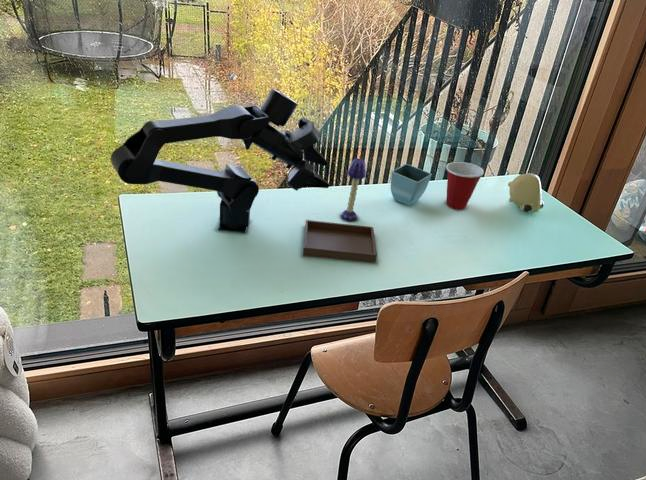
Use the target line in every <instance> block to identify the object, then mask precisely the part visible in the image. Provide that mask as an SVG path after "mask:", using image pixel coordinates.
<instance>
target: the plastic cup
mask: <svg viewBox="0 0 646 480" xmlns="http://www.w3.org/2000/svg"><path fill="white" fill-rule="evenodd" d="M445 169H446V173H447V182H446V183H447V184H446V198H445V200H446V203H445V204H446V206H448V207H449V208H451V209H453V210H459V211H460V210H461V211H462V210H465V208H466V207H467V206H468V203H469V201H470V199H471V198H472V196H473V193H474V191H475V189H476V187H477V185H478V183H479V181H480V180H481V177H482V176H483V175H484V173H485V171H484V169H483V168H482V167H481V166H479V165H476V164H475V163H470V162H463V161H452V162H449V163H447V164H446V165H445Z"/></svg>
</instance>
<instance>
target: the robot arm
mask: <svg viewBox="0 0 646 480" xmlns="http://www.w3.org/2000/svg"><path fill="white" fill-rule="evenodd" d="M298 106H299V104H298V102H296V101H295V100H293V99H292V98H290V97H289V96H287V95H286V94H284V93H283V92H281V91H278V90H276V89H275V88H271V89H270V91H269V93H268V95H267V97H266V99H265V101H264V102H263V104H262V105H261V107H259V106H258V105H257V104H252V105H245V106H242V105H239V104H232V105H230V106H226V107H223V108H220V109H219V110H217V111H215V112H214V113H211V114H207V115H198V116H190V117H182V118H173V119H164V120H148V121H146V122H145V123H144V124H143V125H142V127H141V128H140V129H139V130H138V131H136V132H135V133H133V134H132V135H130V136H129V137H128V138H126V140H125V141H124V142H123V143H122V145H120V146H118V147H117V148H115V149H114V151H112V152H111V155H110V162H111V165H112V167H113V168H114V171H115V172H116V174H117V175H118V178H119V179H120V180H121V181H122V182H123V183H125V184H127V185H150V184H154V183H156V182H157V183H158V182H161V183H168V184H173V185H179V186H186V187H190V188H196V189H203V190H208V191H213V192H216V194H217V197H219V198H220V199H221V200H220V203H219V223H218V226H217V227H218V231H223V232H224V231H225V232H232V233H244V234H245V233H246V232H247V228H248V227H250V220H251V209H252V206H253V204H254V201H255V199H256V197H257V196H258V194H259V191H260V186H259V185H258V183H257V181H255V179H254V178H253V177H252V176H251V175H250V174H249V172H247V171H246V170H245V169H244V168H243V167H242V166H241V165H238V166H237V165H236V166H234V165H231V164H230V163H225V168H224V169H221V170H215V169H209V168H204V167H199V166H194V165H189V164H185V163H184V164H183V163H179V162H173V161H169V160H163V159H160V158H158V155H159V153H160V151H161V149H162V148H163V147H164V145H166V144H173V143H180V142H181V143H182V142H188V141H194V140H203V139H209V138H225V139H229V140H241V141H242V144H243V147H244V149H245V150H246V151H249V149H250V148H251V146H252V144H253V145H255V146H256V147H258V148H260V149H262V150H263V151H264V152H267V153H268V154H270V159H271V160H273V161H276V160H279V161H281V162H283V163H285V168H286V169H288V170H290V169H291V168H292V167H293V168H292V169H291V170H290V171H289V173H288V187H289V188H291V189H293V191H296V192H297V191H298V190H301V189H302V188H319V189H328V188H330V186H331V184H330V183H329V182H328V181H327V180H326V179H324V178H323V177H322V176H320V174H318V173H317V172H316V171H315V167H314V164H317V165H320V166H324V167H327V166H328V165H329V161H328V160H327V159H326V157H325V156H323V154H322V153H321V152H320V151H319V149H317V147H316V146H315V145H316V144H318V143H319V141H320V136H319V135H320V131H319V130H318V129H317V128H316V126H315V122H314V121H312V120H311V119H310V120H309V119H308V118H306V117H304V116H302V117H301V118H299V119H298V120H297V125H298V127H296V128H295V130H294V131H293V132H291V131H290V130H286V129H284V131H283V132H282V131H281V130H280V129H278V128H276V127H275V126H277V127H280V126H281V127H282V128H283V127H285V126H286V125H287V123H288V121H289V120H290V119H291V117H292V115H293V113H294V112H295V110H296V109H297V107H298ZM270 123H272V124H273V125H274V126H273V125H271V124H270ZM311 163H314V164H312V165H311Z"/></svg>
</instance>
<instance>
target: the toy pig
mask: <svg viewBox="0 0 646 480" xmlns="http://www.w3.org/2000/svg"><path fill="white" fill-rule="evenodd" d="M507 186H508V187H509V188H508V189H509V198H508V202H509V203H513V204H514V205H515V206H516V207H519V209H520V211H521V212H523V213H526V214H534V213H537V212H539V211H540V210H541V209H543V208H544V206H545V203H544V201H543V200H542V184H541V179H540V177H539V176H538V175H537V174H535V173H522V174H519V175H517V176H515V178H514V179H513V180H512V181H509V182H508V183H507Z"/></svg>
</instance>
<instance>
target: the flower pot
mask: <svg viewBox="0 0 646 480" xmlns="http://www.w3.org/2000/svg"><path fill="white" fill-rule="evenodd" d="M431 177H432V173H431V172H429V171H425V170H423V169H422V168H419V167H416V166H414V165H411V164H408V163H405V164H402V165H401V166H399V167H397V168H395V169H393V170H392V171H391V174H390V193H391V196H392V198H393V200H395V201H397V202H399V203H401V204H403V205H406V206H408V207H410V206H412V205H413V204H414V203H416V202H417V201H418V200H419V199H420V198H421V197H422V196H423V195H424V193H425V192H426V190H427V188H428V185H429V183H430V181H431Z"/></svg>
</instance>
